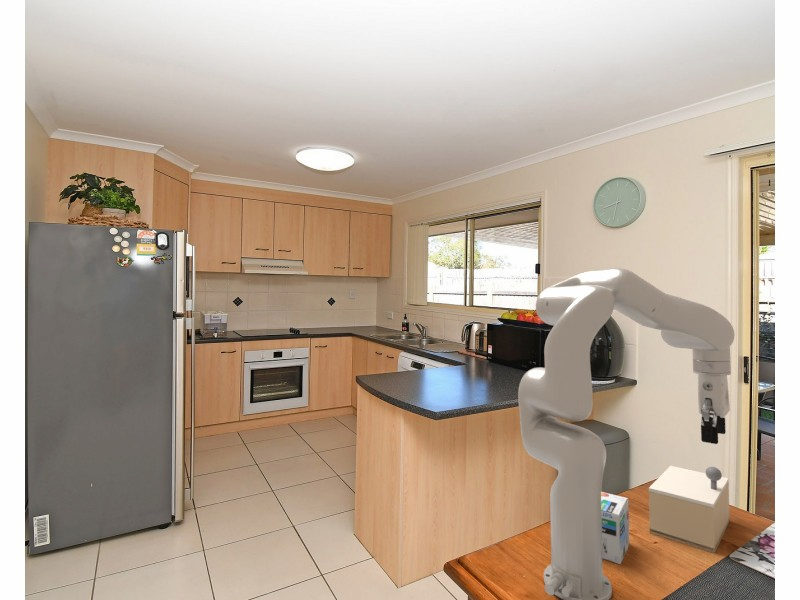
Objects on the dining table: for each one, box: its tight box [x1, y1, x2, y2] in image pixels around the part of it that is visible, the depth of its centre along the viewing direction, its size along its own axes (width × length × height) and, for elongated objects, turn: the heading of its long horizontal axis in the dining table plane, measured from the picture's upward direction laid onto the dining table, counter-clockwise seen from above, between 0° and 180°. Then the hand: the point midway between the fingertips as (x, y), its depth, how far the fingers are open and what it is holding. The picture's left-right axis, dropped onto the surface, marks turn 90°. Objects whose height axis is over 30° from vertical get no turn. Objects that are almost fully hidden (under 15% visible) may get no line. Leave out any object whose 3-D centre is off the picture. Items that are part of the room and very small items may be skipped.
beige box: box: [648, 481, 730, 554], centre depth 109 cm, size 20×13×10 cm, turn 135°
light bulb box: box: [601, 491, 630, 565], centre depth 100 cm, size 11×7×11 cm, turn 143°
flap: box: [648, 465, 730, 508], centre depth 109 cm, size 20×13×6 cm, turn 135°
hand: (713, 437), depth 106 cm, fingers open, 9 cm apart
